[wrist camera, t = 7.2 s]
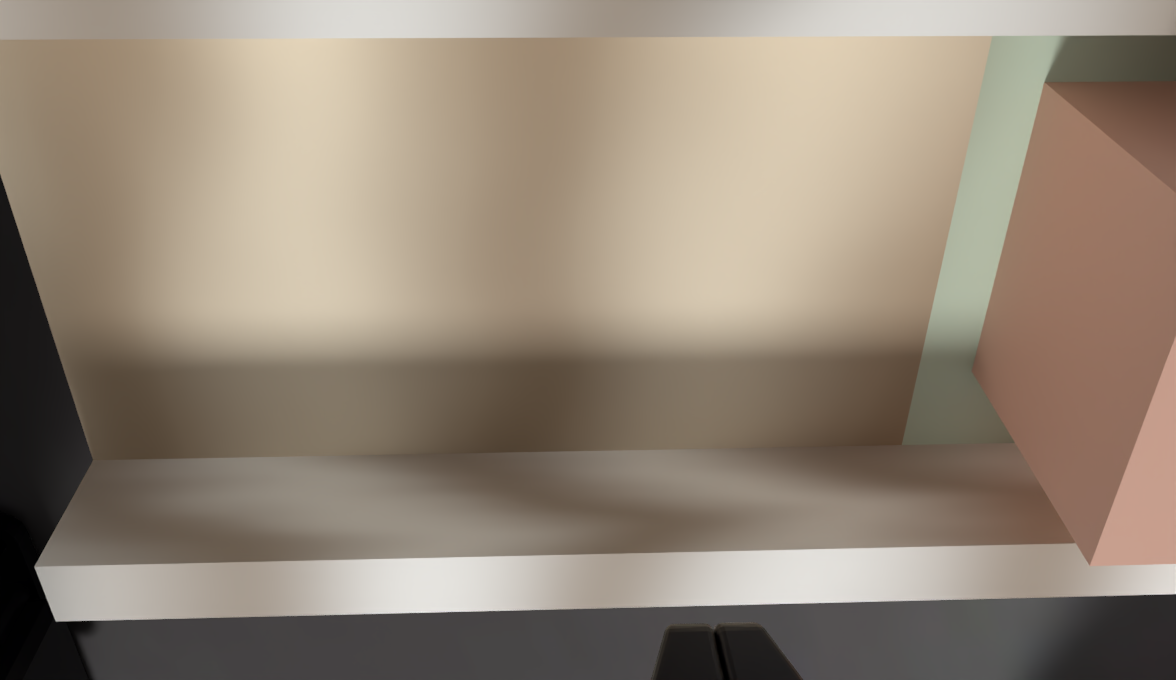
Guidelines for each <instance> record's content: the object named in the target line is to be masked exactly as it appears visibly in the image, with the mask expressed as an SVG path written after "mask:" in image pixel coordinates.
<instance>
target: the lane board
mask: <svg viewBox="0 0 1176 680" xmlns="http://www.w3.org/2000/svg"><path fill="white" fill-rule="evenodd" d="M1133 81H1176V0H0V175H1V178H2V181H3V184H4V187H5V190H6V193H7V196H8V199H9V203H10V206H11V209H12V212H13V215H14V218H15V221H16V224H17V227H18V230H19V233H20V236H21V239H22V243H23V246H24V249H25V252H26V255H27V258H28V261H29V264H30V267H31V270H32V273H33V276H34V280H35V283H36V286H37V289H38V292H39V295H40V298H41V301H42V304H43V307H44V310H45V313H46V316H47V320H48V323H49V326H50V329H51V332H52V335H53V338H54V341H55V344H56V347H57V350H58V353H59V356H60V360H61V363H62V366H63V369H64V372H65V375H66V378H67V381H68V384H69V387H70V390H71V393H72V397H73V400H74V403H75V406H76V409H77V412H78V415H79V418H80V421H81V424H82V427H83V430H84V433H85V437H86V440H87V443H88V446H89V449H90V452H91V455H92V458H93V461H92V463H91V465H90V467H89V469H88V471H87V472H86V474H85V476H84V478H83V480H82V481H81V483H80V485H79V487H78V489H77V490H76V492H75V494H74V496H73V498H72V499H71V501H70V503H69V505H68V507H67V508H66V510H65V512H64V514H63V516H62V517H61V519H60V521H59V523H58V525H57V526H56V528H55V530H54V532H53V534H52V536H51V537H50V539H49V541H48V543H47V545H46V546H45V548H44V550H43V552H42V554H41V555H40V557H39V559H38V561H37V563H36V564H35V566H34V568H35V570H36V573H37V575H38V578H39V580H40V583H41V585H42V588H43V591H44V593H45V596H46V598H47V601H48V603H49V606H50V608H51V611H52V613H53V616H54V619H55V621H56V622H58V621H99V620H140V619H181V618H222V617H263V616H304V615H345V614H386V613H427V612H468V611H508V610H549V609H590V608H631V607H672V606H713V605H754V604H795V603H836V602H877V601H918V600H959V599H1000V598H1041V597H1082V596H1123V595H1163V594H1176V564H1153V565H1114V566H1089V564H1088V562H1087V561H1086V559H1085V558H1084V556H1083V554H1082V553H1081V551H1080V549H1079V548H1078V546H1077V544H1076V543H1075V541H1074V539H1073V538H1072V536H1071V534H1070V533H1069V531H1068V529H1067V528H1066V526H1065V525H1064V523H1063V521H1062V520H1061V518H1060V516H1059V515H1058V513H1057V511H1056V510H1055V508H1054V506H1053V505H1052V503H1051V501H1050V500H1049V498H1048V496H1047V495H1046V493H1045V492H1044V490H1043V488H1042V487H1041V485H1040V483H1039V482H1038V480H1037V478H1036V477H1035V475H1034V473H1033V472H1032V470H1031V468H1030V467H1029V465H1028V463H1027V462H1026V460H1025V458H1024V457H1023V455H1022V454H1021V452H1020V450H1019V449H1018V447H1017V445H1016V444H1015V442H1014V440H1013V439H1012V437H1011V435H1010V434H1009V432H1008V430H1007V429H1006V427H1005V425H1004V424H1003V422H1002V421H1001V419H1000V417H999V416H998V414H997V412H996V411H995V409H994V407H993V406H992V404H991V402H990V401H989V399H988V397H987V396H986V394H985V392H984V391H983V389H982V388H981V386H980V384H979V383H978V381H977V379H976V378H975V376H974V374H973V373H972V368H973V364H974V360H975V356H976V352H977V348H978V344H979V340H980V336H981V332H982V328H983V324H984V320H985V316H986V312H987V308H988V304H989V300H990V296H991V292H992V288H993V284H994V280H995V276H996V272H997V268H998V264H999V260H1000V256H1001V252H1002V248H1003V244H1004V240H1005V236H1006V232H1007V228H1008V224H1009V220H1010V217H1011V213H1012V209H1013V205H1014V201H1015V197H1016V193H1017V189H1018V185H1019V181H1020V177H1021V173H1022V169H1023V165H1024V161H1025V157H1026V153H1027V149H1028V145H1029V141H1030V137H1031V133H1032V129H1033V125H1034V121H1035V117H1036V113H1037V109H1038V105H1039V101H1040V97H1041V93H1042V89H1043V85H1044V82H1133Z"/></svg>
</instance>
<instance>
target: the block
mask: <svg viewBox="0 0 1176 680" xmlns="http://www.w3.org/2000/svg"><path fill="white" fill-rule="evenodd" d="M972 373H973V374H974V376H975V378H976V379H977V381H978V383H979V384H980V386H981V388H982V389H983V391H984V392H985V394H986V396H987V397H988V399H989V401H990V402H991V404H992V406H993V407H994V409H995V411H996V412H997V414H998V416H999V417H1000V419H1001V421H1002V422H1003V424H1004V425H1005V427H1006V429H1007V430H1008V432H1009V434H1010V435H1011V437H1012V439H1013V440H1014V442H1015V444H1016V445H1017V447H1018V449H1019V450H1020V452H1021V454H1022V455H1023V457H1024V458H1025V460H1026V462H1027V463H1028V465H1029V467H1030V468H1031V470H1032V472H1033V473H1034V475H1035V477H1036V478H1037V480H1038V482H1039V483H1040V485H1041V487H1042V488H1043V490H1044V492H1045V493H1046V495H1047V496H1048V498H1049V500H1050V501H1051V503H1052V505H1053V506H1054V508H1055V510H1056V511H1057V513H1058V515H1059V516H1060V518H1061V520H1062V521H1063V523H1064V525H1065V526H1066V528H1067V529H1068V531H1069V533H1070V534H1071V536H1072V538H1073V539H1074V541H1075V543H1076V544H1077V546H1078V548H1079V549H1080V551H1081V553H1082V554H1083V556H1084V558H1085V559H1086V561H1087V562H1088V564H1089V566H1114V565H1153V564H1176V81H1133V82H1044V85H1043V89H1042V93H1041V97H1040V101H1039V105H1038V109H1037V113H1036V117H1035V121H1034V125H1033V129H1032V133H1031V137H1030V141H1029V145H1028V149H1027V153H1026V157H1025V161H1024V165H1023V169H1022V173H1021V177H1020V181H1019V185H1018V189H1017V193H1016V197H1015V201H1014V205H1013V209H1012V213H1011V217H1010V220H1009V224H1008V228H1007V232H1006V236H1005V240H1004V244H1003V248H1002V252H1001V256H1000V260H999V264H998V268H997V272H996V276H995V280H994V284H993V288H992V292H991V296H990V300H989V304H988V308H987V312H986V316H985V320H984V324H983V328H982V332H981V336H980V340H979V344H978V348H977V352H976V356H975V360H974V364H973V368H972Z"/></svg>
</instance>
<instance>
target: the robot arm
mask: <svg viewBox="0 0 1176 680" xmlns="http://www.w3.org/2000/svg"><path fill="white" fill-rule="evenodd" d="M37 561H38V558H37V555H36V553H35V550H34V547H33V545H32V542H31V540H30V537H29V535H28V532H27V530H26V528H25V527H24V525H23V524H22V523H21V522H20V521H19V520H17V519H16V518H15V517H12V516H10V515H7V514H5V513H0V680H88V677H87V675H86V672H85V670H84V667H83V664H82V662H81V659H80V657H79V654H78V651H77V649H76V646H75V644H74V641H73V639H72V636H71V633H70V631H69V628H68V626H67V623H66V621H58V622H56V621H55V619H54V616H53V613H52V611H51V608H50V606H49V603H48V601H47V598H46V596H45V593H44V591H43V588H42V585H41V583H40V580H39V578H38V575H37V573H36V570H35V568H34V566H35V564H36V563H37ZM651 680H803V679H802V677H801V676H800V675H799V673H798V672H797V671H796V670H795V668H794V667H793V666H792V664H791V663H790V662H789V660H788V659H787V658H786V656H785V655H784V654H783V652H782V651H781V650H780V648H779V647H778V646H777V644H776V643H775V642H774V640H773V639H772V638H771V636H770V635H769V634H768V633H767V631H766V630H765V629H764V628H763V627H762V626H761V625H759V624H757V623H752V622H747V623H720V624H718V625H716V626H715V627H714V629H712V627H711V626H710V625H708V624H704V623H702V624H672V625H670V626H668V627H667V628H666V630H665V633H664V636H663V639H662V643H661V646H660V650H659V653H658V657H657V660H656V664H655V667H654V671H653V674H652V678H651Z"/></svg>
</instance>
